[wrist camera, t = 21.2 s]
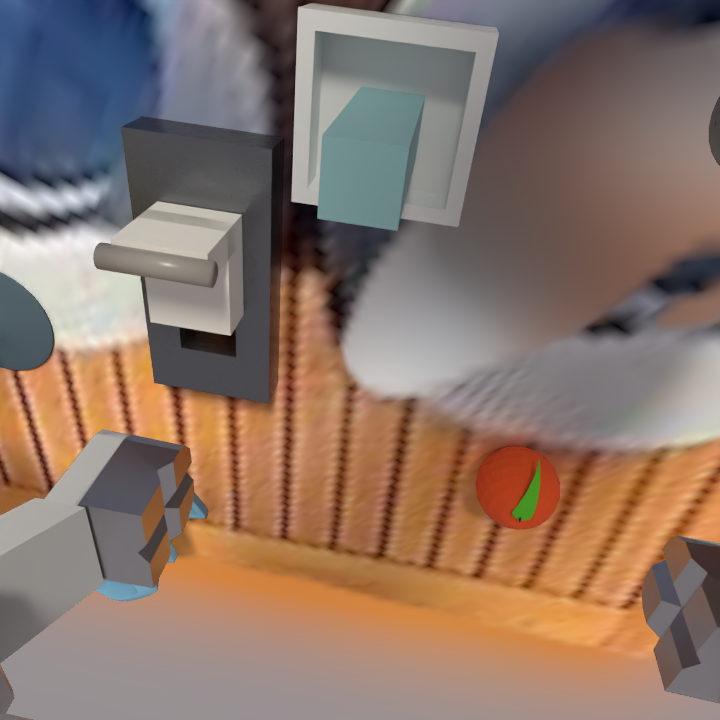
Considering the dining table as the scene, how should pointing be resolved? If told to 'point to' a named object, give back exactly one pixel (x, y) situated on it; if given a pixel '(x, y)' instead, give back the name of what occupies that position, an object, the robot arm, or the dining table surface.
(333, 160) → the block
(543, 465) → the clementine
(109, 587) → the chair
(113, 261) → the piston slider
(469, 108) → the tray
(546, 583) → the dining table surface
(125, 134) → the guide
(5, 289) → the cocktail glass
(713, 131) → the thermos bottle
